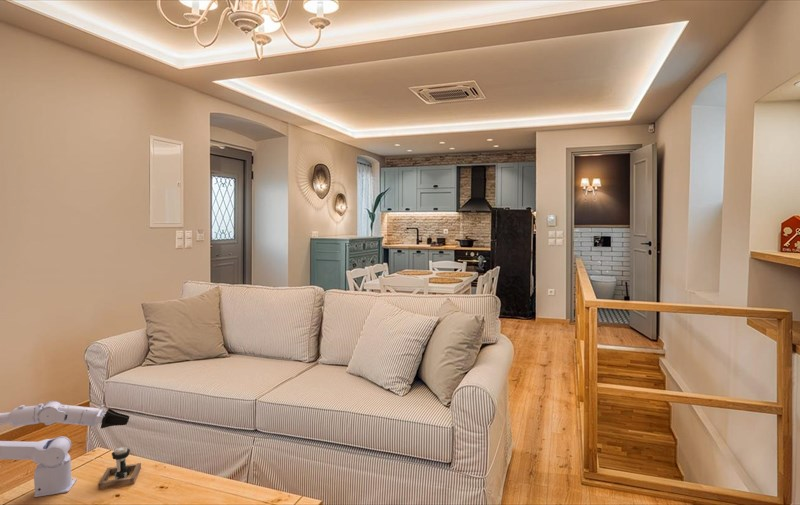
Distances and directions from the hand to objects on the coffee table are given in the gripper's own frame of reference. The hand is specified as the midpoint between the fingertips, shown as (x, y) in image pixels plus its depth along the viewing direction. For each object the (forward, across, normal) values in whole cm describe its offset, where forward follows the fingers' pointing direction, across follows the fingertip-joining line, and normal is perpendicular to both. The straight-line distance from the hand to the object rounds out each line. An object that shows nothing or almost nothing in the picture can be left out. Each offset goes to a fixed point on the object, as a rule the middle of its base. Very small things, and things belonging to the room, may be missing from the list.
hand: (128, 420), depth 162 cm
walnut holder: (+3, +4, +19) cm, 20 cm away
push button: (+3, +4, +19) cm, 20 cm away
